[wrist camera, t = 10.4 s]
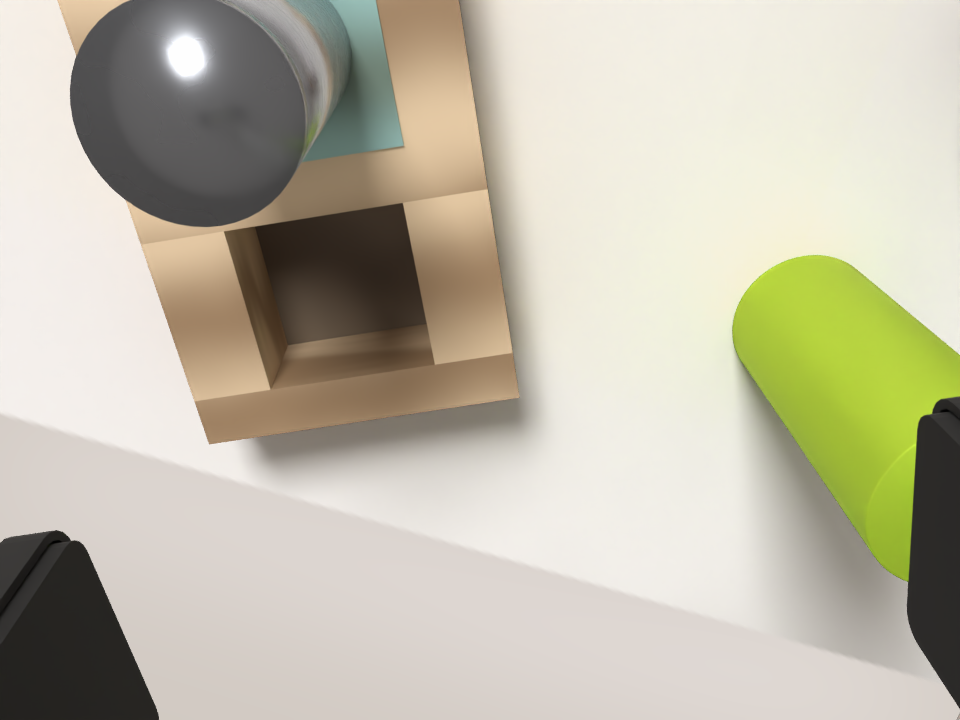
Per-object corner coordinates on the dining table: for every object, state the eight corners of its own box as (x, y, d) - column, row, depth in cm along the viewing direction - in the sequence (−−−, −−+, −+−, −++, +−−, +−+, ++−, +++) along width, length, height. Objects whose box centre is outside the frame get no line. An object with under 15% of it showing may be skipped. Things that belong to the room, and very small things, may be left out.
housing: (512, 351, 37) (519, 398, 33) (232, 394, 37) (208, 445, 33) (437, -136, 29) (436, -146, 25) (83, -74, 29) (30, -75, 25)
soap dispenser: (824, 417, 39) (1151, 842, 21) (703, 341, 37) (946, 734, 19) (920, 314, 36) (1378, 685, 18) (797, 227, 35) (1173, 546, 17)
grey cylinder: (366, 119, 28) (328, 208, 19) (221, 143, 28) (116, 242, 19) (332, -43, 26) (271, -28, 17) (175, -16, 26) (34, 13, 17)
